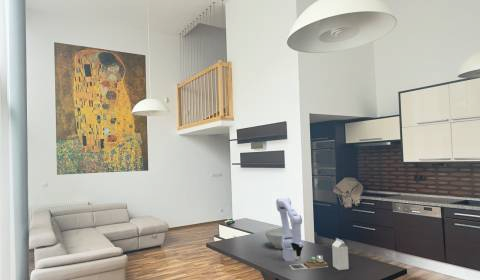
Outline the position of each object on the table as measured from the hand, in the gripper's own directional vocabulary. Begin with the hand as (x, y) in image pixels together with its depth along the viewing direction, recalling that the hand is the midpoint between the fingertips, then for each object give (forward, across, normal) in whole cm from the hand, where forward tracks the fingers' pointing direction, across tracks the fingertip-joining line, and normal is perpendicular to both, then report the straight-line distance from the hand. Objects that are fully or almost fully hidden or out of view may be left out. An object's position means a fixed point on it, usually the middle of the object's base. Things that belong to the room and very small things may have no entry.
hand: (297, 255), depth 202 cm
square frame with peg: (+9, -6, +14) cm, 18 cm away
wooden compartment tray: (+9, +1, +12) cm, 15 cm away
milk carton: (+9, +9, +26) cm, 29 cm away
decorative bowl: (+9, -52, +7) cm, 54 cm away
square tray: (+9, 0, 0) cm, 9 cm away
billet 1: (+3, 0, 0) cm, 3 cm away
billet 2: (+8, +1, +15) cm, 17 cm away
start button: (+7, -6, +14) cm, 17 cm away
